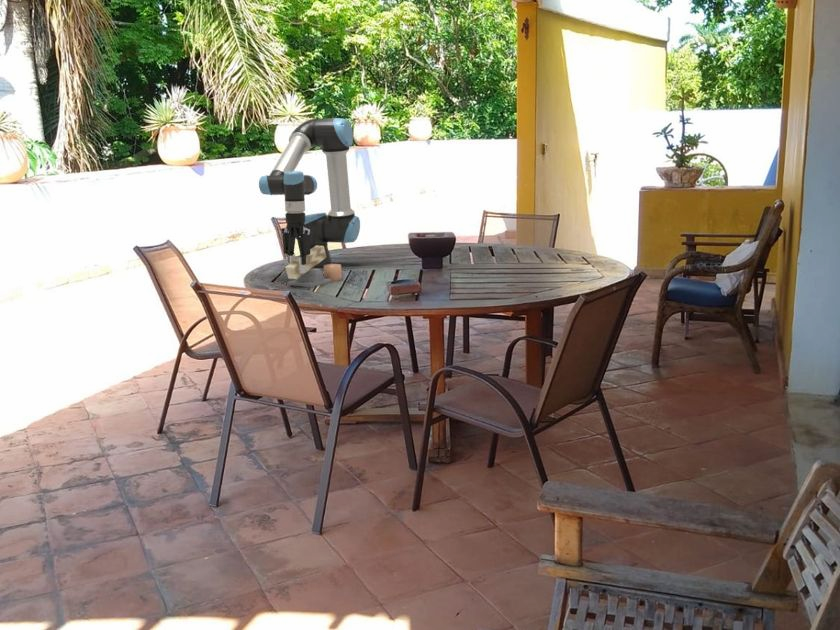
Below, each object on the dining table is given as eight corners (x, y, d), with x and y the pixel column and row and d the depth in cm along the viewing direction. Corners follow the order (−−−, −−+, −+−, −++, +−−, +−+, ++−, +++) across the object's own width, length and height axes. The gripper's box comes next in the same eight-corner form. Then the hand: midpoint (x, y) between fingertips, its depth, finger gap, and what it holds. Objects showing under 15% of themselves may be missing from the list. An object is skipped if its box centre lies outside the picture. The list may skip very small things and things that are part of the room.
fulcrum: (307, 279, 329) (307, 265, 327) (330, 282, 322) (330, 267, 321) (287, 284, 319) (287, 269, 317) (311, 287, 312) (310, 272, 311)
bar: (318, 256, 327) (315, 245, 325) (326, 257, 325) (323, 246, 323) (288, 278, 313) (285, 266, 310) (296, 279, 311) (293, 267, 308)
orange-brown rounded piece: (331, 277, 333) (331, 263, 331) (345, 279, 329) (344, 264, 328) (320, 280, 327) (320, 265, 326) (334, 282, 323) (333, 267, 322)
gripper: (271, 212, 311) (274, 272, 315) (305, 213, 301) (308, 275, 306) (285, 210, 317) (287, 269, 322) (318, 212, 308) (321, 272, 312)
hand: (297, 272), depth 314 cm, fingers closed on bar, 4 cm apart
